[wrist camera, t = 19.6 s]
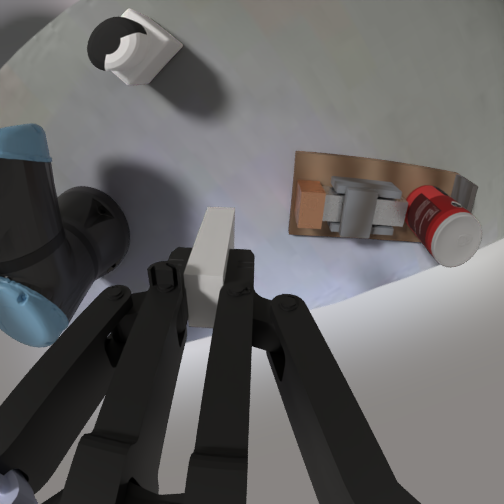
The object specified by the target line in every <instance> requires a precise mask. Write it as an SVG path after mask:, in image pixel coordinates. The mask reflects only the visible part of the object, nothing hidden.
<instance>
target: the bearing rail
mask: <svg viewBox="0 0 504 504" xmlns="http://www.w3.org/2000/svg"><path fill="white" fill-rule="evenodd" d="M297 180H311V181H320V183H321V185H322V186H333V187H334V189H335V191H336V192H337V193H344V194H345V197H344V203H343V209H342V215H341V221H340V222H332V221H322V226H321V229H311V228H298V227H297V223H296V218H295V214H294V208H295V198H296V188H297ZM424 185H431V186H436V187H438V188H440V189H441V190H443V191H444V192H445V193H446V194H448V195H449V196H450V197H452V198H453V199H454V200H455V201H457V202H458V203H459V204H460V205H462V206H463V207H464V208H465V209H467V210H468V211H469V212H470V213H471V211H472V208H473V204H474V200H475V197H476V193H477V189H478V186H477V185H475V184H474V183H472V182H471V181H469V180H468V179H466V178H464V177H463V176H461V175H460V174H458V173H456V172H451V171H446V170H441V169H435V168H430V167H424V166H418V165H412V164H406V163H400V162H393V161H386V160H379V159H371V158H364V157H355V156H347V155H337V154H327V153H317V152H305V151H296V153H295V165H294V177H293V188H292V199H291V209H290V220H289V230H288V231H289V234H291V235H310V236H329V237H347V238H363V239H380V240H395V241H410V242H421V241H420V240H419V239H418V237H417V236H416V235H415V234H414V232H413V231H412V230H411V229H410V228H409V226H408V225H407V223H406V222H405V220H404V224H403V227H400V226H388V225H375V224H372V223H373V218H374V214H375V209H376V204H377V198H378V197H385V198H394V199H401V196H402V197H403V198H404V199H405V200H406V198H407V197H408V195H409V194H410V193H411V192H412V191H413V190H415V189H416V188H418V187H420V186H424Z"/></svg>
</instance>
